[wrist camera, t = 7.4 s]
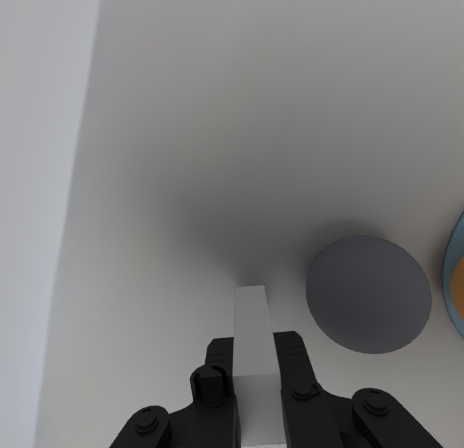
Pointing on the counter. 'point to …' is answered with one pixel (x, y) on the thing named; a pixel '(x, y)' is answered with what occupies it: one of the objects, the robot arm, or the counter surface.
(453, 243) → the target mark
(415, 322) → the dark grey ball
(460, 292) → the object ball
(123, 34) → the counter surface
